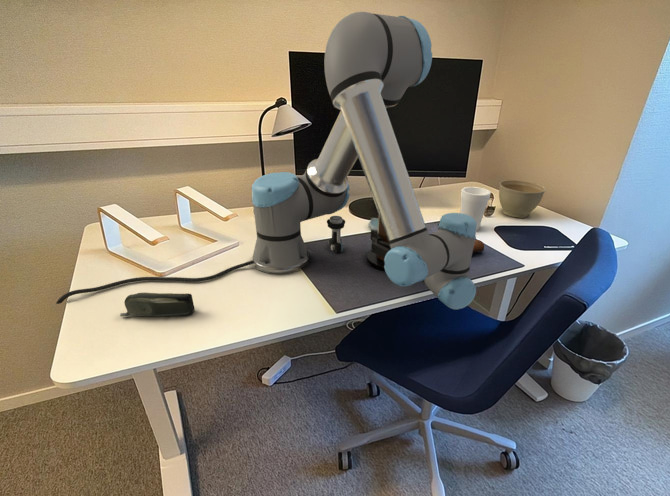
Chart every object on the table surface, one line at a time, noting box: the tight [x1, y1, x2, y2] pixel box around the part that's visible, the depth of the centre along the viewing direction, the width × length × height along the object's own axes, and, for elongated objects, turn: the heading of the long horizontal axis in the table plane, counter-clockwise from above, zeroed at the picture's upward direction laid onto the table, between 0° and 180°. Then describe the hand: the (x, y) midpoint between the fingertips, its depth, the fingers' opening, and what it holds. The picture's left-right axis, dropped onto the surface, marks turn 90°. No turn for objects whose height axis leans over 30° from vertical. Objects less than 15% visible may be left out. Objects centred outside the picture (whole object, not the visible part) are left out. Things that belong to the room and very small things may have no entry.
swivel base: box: [366, 249, 386, 273], centre depth 113 cm, size 15×15×2 cm
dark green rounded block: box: [119, 292, 195, 317], centre depth 86 cm, size 5×3×15 cm
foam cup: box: [460, 186, 492, 232], centre depth 134 cm, size 10×9×13 cm
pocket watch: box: [368, 217, 378, 233], centre depth 131 cm, size 10×11×15 cm
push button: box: [326, 215, 346, 254], centre depth 116 cm, size 7×5×10 cm
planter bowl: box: [498, 179, 546, 219], centre depth 149 cm, size 16×16×11 cm
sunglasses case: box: [472, 239, 485, 255], centre depth 118 cm, size 18×7×7 cm
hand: (389, 232), depth 112 cm, fingers closed on pen carousel, 10 cm apart
